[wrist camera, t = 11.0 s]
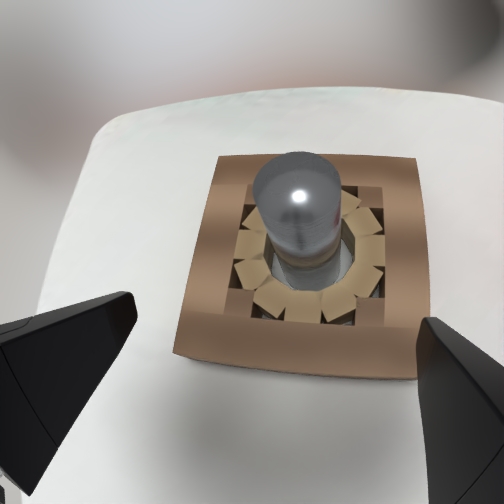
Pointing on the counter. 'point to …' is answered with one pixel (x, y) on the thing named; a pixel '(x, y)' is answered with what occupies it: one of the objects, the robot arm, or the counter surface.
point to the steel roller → (302, 217)
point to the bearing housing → (311, 302)
